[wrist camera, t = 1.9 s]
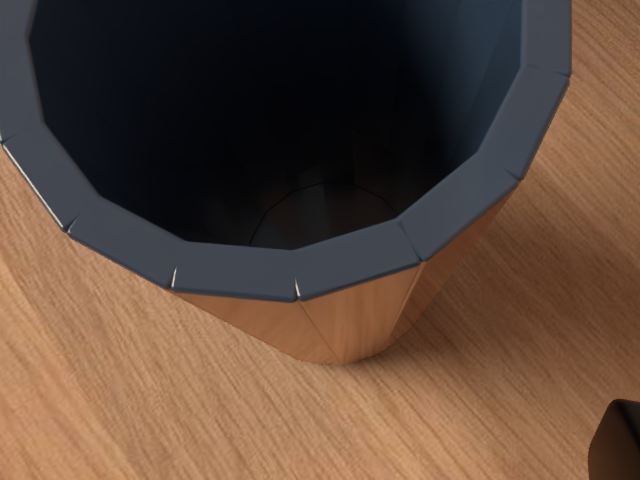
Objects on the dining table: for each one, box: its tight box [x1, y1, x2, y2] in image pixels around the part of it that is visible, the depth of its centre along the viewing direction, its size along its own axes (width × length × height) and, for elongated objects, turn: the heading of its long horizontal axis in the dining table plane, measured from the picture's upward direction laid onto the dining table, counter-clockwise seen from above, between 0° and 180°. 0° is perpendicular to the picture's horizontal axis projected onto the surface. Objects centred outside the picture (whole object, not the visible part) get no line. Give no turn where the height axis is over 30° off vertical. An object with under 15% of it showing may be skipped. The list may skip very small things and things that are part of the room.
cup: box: [0, 0, 572, 365], centre depth 12 cm, size 6×6×13 cm
